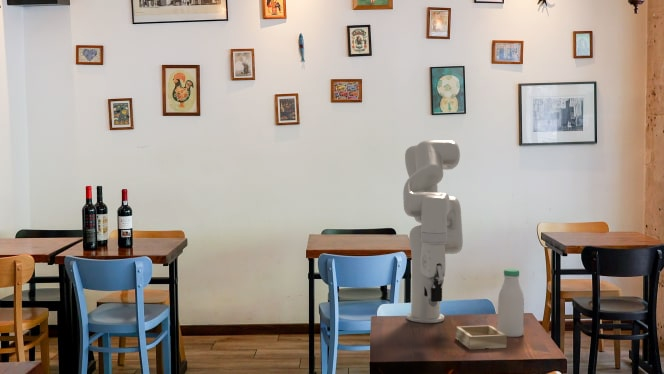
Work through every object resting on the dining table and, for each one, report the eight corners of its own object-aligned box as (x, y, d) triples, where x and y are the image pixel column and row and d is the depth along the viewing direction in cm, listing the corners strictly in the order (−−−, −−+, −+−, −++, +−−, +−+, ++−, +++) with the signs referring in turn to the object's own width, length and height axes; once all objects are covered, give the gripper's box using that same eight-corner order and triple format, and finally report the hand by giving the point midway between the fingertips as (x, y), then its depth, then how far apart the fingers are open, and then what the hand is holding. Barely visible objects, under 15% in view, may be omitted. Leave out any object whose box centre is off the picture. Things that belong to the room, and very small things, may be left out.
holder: (455, 338, 217) (455, 326, 217) (490, 336, 219) (490, 325, 218) (470, 349, 205) (470, 336, 205) (506, 347, 207) (506, 335, 207)
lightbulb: (447, 306, 212) (447, 269, 211) (435, 310, 207) (436, 272, 206) (430, 302, 216) (430, 266, 215) (418, 306, 212) (418, 269, 211)
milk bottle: (524, 338, 217) (525, 272, 216) (497, 336, 219) (499, 271, 218) (522, 331, 225) (523, 268, 224) (497, 330, 227) (498, 267, 225)
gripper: (413, 233, 218) (412, 292, 219) (430, 243, 201) (429, 306, 202) (436, 232, 219) (435, 291, 221) (456, 242, 202) (455, 305, 204)
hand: (432, 297), depth 212 cm, fingers closed on lightbulb, 5 cm apart
